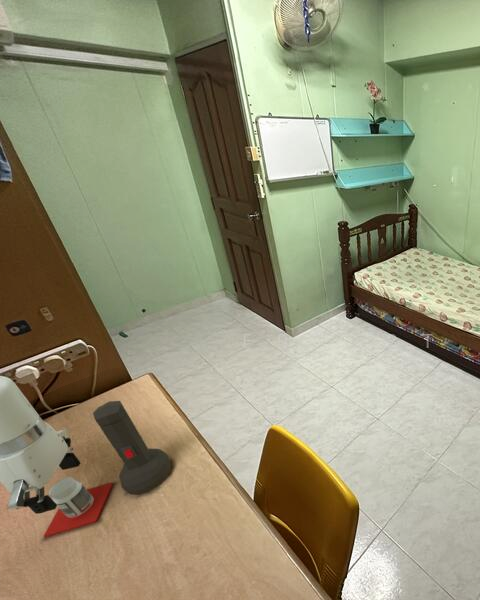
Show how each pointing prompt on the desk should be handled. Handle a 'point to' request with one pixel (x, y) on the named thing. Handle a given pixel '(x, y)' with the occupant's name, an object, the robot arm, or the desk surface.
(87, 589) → the desk surface
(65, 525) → the red pad
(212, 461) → the desk surface
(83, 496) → the pill bottle
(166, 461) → the flashlight
